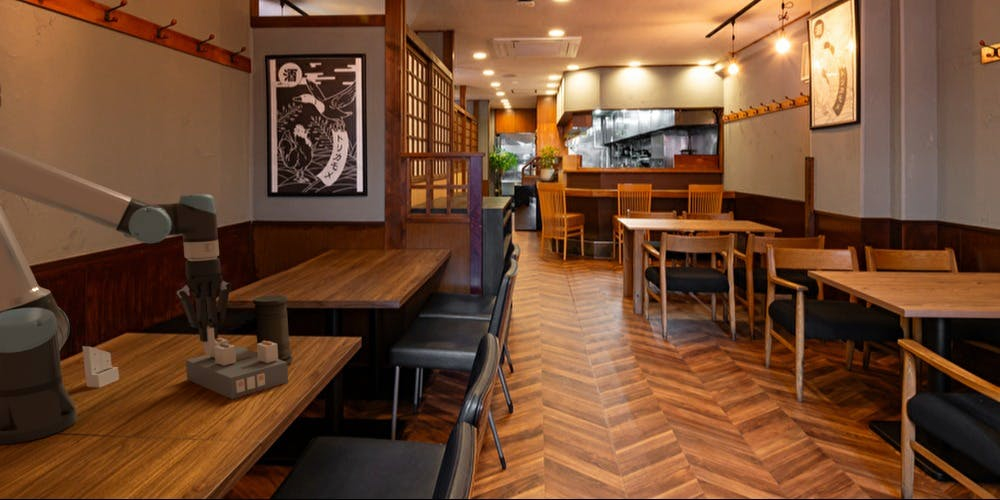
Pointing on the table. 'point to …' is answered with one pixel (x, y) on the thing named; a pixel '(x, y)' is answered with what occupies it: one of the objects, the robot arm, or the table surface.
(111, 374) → the white wedge bracket
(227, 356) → the knob mid
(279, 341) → the container
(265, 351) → the knob near
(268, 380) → the switch unit
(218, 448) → the table surface
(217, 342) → the knob far
